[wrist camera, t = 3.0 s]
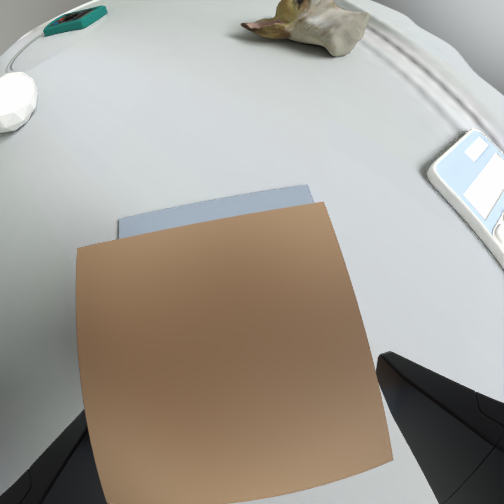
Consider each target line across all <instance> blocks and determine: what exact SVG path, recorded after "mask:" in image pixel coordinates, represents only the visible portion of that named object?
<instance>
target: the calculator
mask: <svg viewBox="0 0 504 504" xmlns="http://www.w3.org/2000/svg"><path fill="white" fill-rule="evenodd" d="M427 177H428V180H429V181H430V182H431V184H432V185H433V186H434V187H435V188H436V189H437V190H438V191H439V192H440V193H441V195H442V196H443V197H444V198H445V199H446V200H447V201H448V202H449V203H450V204H451V205H452V206H453V207H454V209H455V210H456V211H457V212H458V213H459V214H460V215H461V216H462V217H463V219H464V220H465V221H466V222H467V223H468V224H469V226H470V227H471V228H472V229H473V230H474V231H475V233H476V234H477V235H478V236H479V237H480V239H481V240H482V241H483V242H484V244H485V245H486V246H487V247H488V249H489V250H490V251H491V253H492V254H493V255H494V257H495V258H496V259H497V261H498V262H499V263H500V265H501V266H502V267H503V269H504V153H503V152H502V151H501V150H500V149H499V148H498V147H497V146H496V145H495V144H494V143H493V142H492V141H491V140H490V139H489V138H488V137H487V136H486V135H485V134H484V133H482V132H481V131H480V130H478V129H476V128H472V129H471V130H469V131H468V132H467V133H466V134H465V135H464V136H462V137H461V138H460V139H459V140H458V141H457V142H456V143H455V144H454V145H452V146H451V147H450V148H449V149H448V150H447V151H446V152H445V153H443V154H442V155H441V156H440V157H439V158H438V159H437V160H436V161H434V162H433V164H432V165H431V166H430V167H429V169H428V171H427Z"/></svg>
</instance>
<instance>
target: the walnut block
mask: <svg viewBox="0 0 504 504" xmlns="http://www.w3.org/2000/svg"><path fill="white" fill-rule="evenodd" d="M76 327H77V346H78V359H79V369H80V379H81V387H82V395H83V402H84V408H85V414H86V420H87V426H88V431H89V436H90V441H91V445H92V450H93V454H94V459H95V463H96V467H97V471H98V474H99V478H100V482H101V485H102V489H103V492H104V495H105V498H106V501H107V503H108V504H228V503H237V502H244V501H251V500H258V499H264V498H269V497H274V496H280V495H284V494H289V493H294V492H298V491H302V490H306V489H310V488H314V487H318V486H321V485H325V484H328V483H331V482H335V481H338V480H341V479H344V478H347V477H350V476H353V475H356V474H359V473H362V472H365V471H367V470H370V469H373V468H375V467H378V466H380V465H383V464H385V463H388V462H390V461H392V460H393V455H392V449H391V443H390V438H389V432H388V427H387V422H386V417H385V412H384V407H383V402H382V397H381V393H380V388H379V384H378V380H377V375H376V371H375V367H374V363H373V359H372V355H371V351H370V347H369V343H368V339H367V336H366V332H365V328H364V325H363V321H362V317H361V314H360V310H359V307H358V303H357V300H356V297H355V293H354V290H353V287H352V283H351V280H350V277H349V274H348V271H347V268H346V264H345V261H344V258H343V255H342V252H341V249H340V246H339V243H338V240H337V237H336V235H335V232H334V229H333V226H332V223H331V220H330V218H329V215H328V212H327V209H326V207H325V204H324V202H318V203H311V204H305V205H299V206H292V207H286V208H280V209H274V210H268V211H262V212H256V213H250V214H245V215H239V216H233V217H228V218H222V219H217V220H211V221H206V222H201V223H195V224H190V225H185V226H180V227H175V228H170V229H165V230H160V231H155V232H150V233H145V234H140V235H136V236H131V237H126V238H121V239H117V240H112V241H108V242H103V243H99V244H94V245H90V246H85V247H81V248H77V263H76Z"/></svg>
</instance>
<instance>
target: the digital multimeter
mask: <svg viewBox="0 0 504 504" xmlns="http://www.w3.org/2000/svg"><path fill="white" fill-rule="evenodd" d="M105 14H107V10H106V6H98V7H93V8H89V9H85V10H81V11H77V12H72V13H68V14H64V15H62V16H60V17H58V18H57V19H55V20H54V21H52V22H51V23H50V24H48V25H47V26H46V27H45V28H44V30H43V32H44V34H45V36H50V35H54V34H58V33H62V32H67V31H72V30H78V29H84V28H86V27H87V26H89V25H90V24H92V23H94V22H95V21H97V20H98V19H100V18H101V17H103V16H104V15H105Z"/></svg>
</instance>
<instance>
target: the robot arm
mask: <svg viewBox="0 0 504 504" xmlns="http://www.w3.org/2000/svg"><path fill="white" fill-rule="evenodd" d="M376 375H377V380H378V383H379V385H380V388H381V390H382V392H383V395H384V397H385V400H386V402H387V405H388V407H389V409H390V412H391V414H392V416H393V418H394V420H395V422H396V424H397V425H398V427H399V429H400V431H401V433H402V434H403V436H404V438H405V440H406V442H407V444H408V445H409V447H410V449H411V451H412V453H413V455H414V456H415V458H416V460H417V462H418V464H419V466H420V468H421V470H422V472H423V473H424V475H425V477H426V479H427V481H428V483H429V485H430V487H431V489H432V491H433V493H434V495H435V497H436V499H437V501H438V503H439V504H504V403H503V402H500V401H497V400H495V399H492V398H490V397H487V396H485V395H483V394H481V393H478V392H475V391H474V390H472V389H470V388H467V387H465V386H463V385H461V384H459V383H457V382H454V381H452V380H450V379H448V378H446V377H444V376H442V375H440V374H437V373H435V372H433V371H431V370H429V369H427V368H425V367H423V366H421V365H419V364H416V363H414V362H412V361H410V360H408V359H406V358H404V357H402V356H400V355H398V354H396V353H394V352H391V351H388V352H386V353H383V354H380V355H379V356H378V361H377V368H376ZM0 504H108V503H107V501H106V498H105V495H104V492H103V489H102V485H101V482H100V478H99V474H98V471H97V467H96V463H95V459H94V454H93V450H92V445H91V441H90V436H89V431H88V426H87V420H86V414H85V409H84V410H83V411H82V412H81V413H80V414H79V415H78V416H77V417H76V418H75V420H74V421H73V422H72V423H71V424H70V425H69V426H68V427H67V428H66V429H65V430H64V431H63V432H62V433H61V434H60V435H59V436H58V438H57V439H56V440H55V441H54V442H53V443H52V444H51V445H50V446H49V447H48V448H47V449H46V450H45V451H44V452H43V454H42V455H41V456H40V457H39V458H38V459H37V460H36V461H35V462H34V463H33V464H32V465H31V466H30V468H29V469H28V470H27V471H26V472H25V473H24V474H23V475H22V476H21V477H20V478H19V479H18V480H17V481H16V482H15V483H14V484H13V485H12V486H11V487H10V488H9V489H8V490H7V491H5V492H4V493H3V494H2V495H1V496H0Z"/></svg>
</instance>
